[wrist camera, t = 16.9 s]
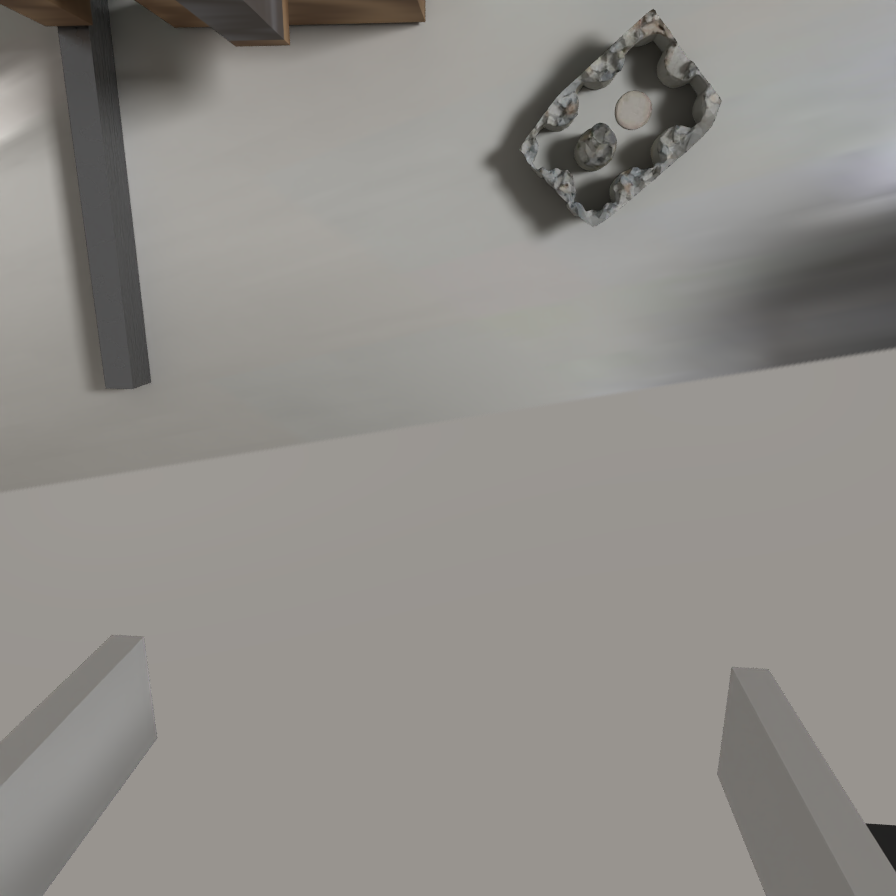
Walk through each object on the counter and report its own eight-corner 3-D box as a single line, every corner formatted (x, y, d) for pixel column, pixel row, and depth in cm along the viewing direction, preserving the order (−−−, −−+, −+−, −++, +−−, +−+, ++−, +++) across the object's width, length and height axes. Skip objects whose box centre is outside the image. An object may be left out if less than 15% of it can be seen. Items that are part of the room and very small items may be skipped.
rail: (97, -89, 42) (72, -109, 40) (150, 382, 50) (133, 388, 48) (66, -87, 43) (39, -108, 40) (124, 381, 51) (105, 388, 48)
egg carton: (644, 20, 42) (659, -5, 38) (718, 119, 43) (740, 106, 39) (510, 146, 44) (510, 135, 40) (583, 237, 45) (590, 235, 41)
